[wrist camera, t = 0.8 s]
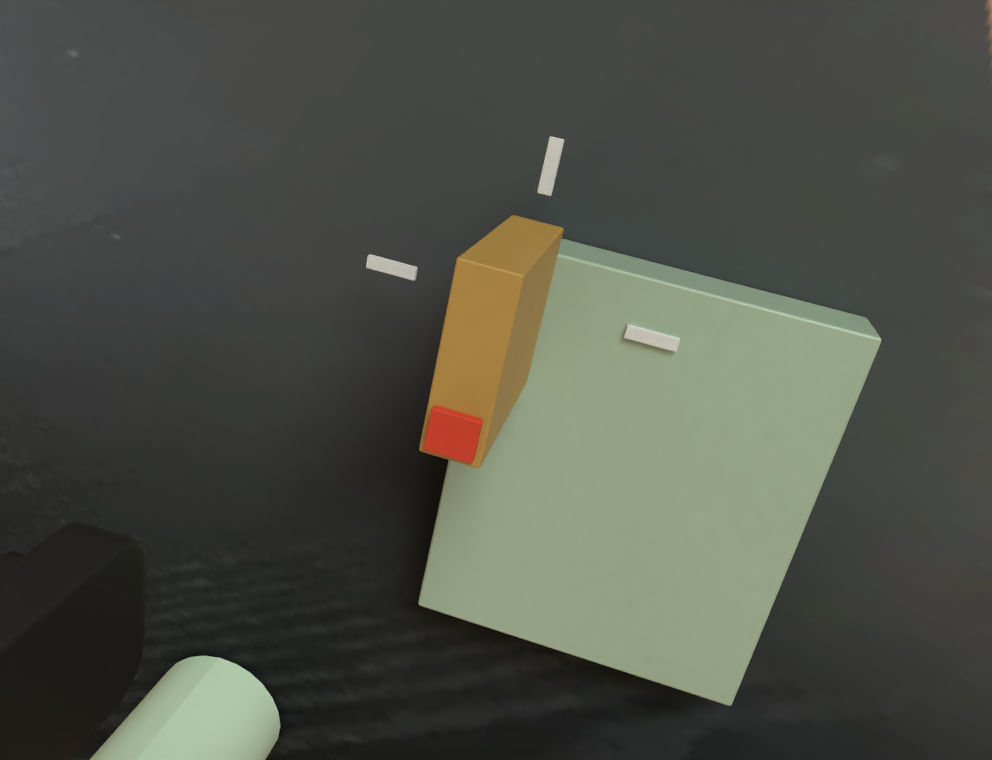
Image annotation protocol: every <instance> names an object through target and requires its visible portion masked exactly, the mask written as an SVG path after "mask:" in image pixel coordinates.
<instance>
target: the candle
mask: <svg viewBox="0 0 992 760" xmlns="http://www.w3.org/2000/svg"><path fill="white" fill-rule="evenodd" d="M279 730H280V720H279V712H278V710H277V707H276V705H275V703H274V700H273V698H272V697H271V695H270V694H269V692H268V691H267V690H266V688H265V687H264V685H263V684H262V683H261V682H260V681H259V680H258V679H257V678H256V677H255V676H253V675H252V674H251V673H250V672H249V671H247V670H245V669H244V668H242V667H240V666H239V665H237V664H235V663H232V662H230V661H227V660H224V659H222V658H217V657H210V656H196V657H189V658H186V659H184V660H182V661H179V662H177V663H176V664H175V665H174V666H173V667H172V668H171V669H170V670H169V671H168V672H167V673H166V674H165V675H164V676H163V677H162V678H161V680H160V681H159V682H158V683H157V684H156V685H155V686H154V687H153V689H152V690H151V691H150V692H149V693H148V694H147V695H146V696H145V698H144V699H143V700H142V701H141V702H140V703H139V704H138V706H137V707H136V708H135V709H134V710H133V711H132V712H131V713H130V715H129V716H128V717H127V718H126V719H125V720H124V721H123V723H122V724H121V725H120V726H119V727H118V728H117V729H116V730H115V732H114V733H113V734H112V735H111V736H110V737H109V738H108V739H107V741H106V742H105V743H104V744H103V745H102V746H101V747H100V749H99V750H98V751H97V752H96V753H95V754H94V755H93V756H92V758H91V759H90V760H265V759H266V757H267V756H268V754H269V753H270V751H271V749H272V748H273V746H274V744H275V743H276V741H277V739H278V736H279Z"/></svg>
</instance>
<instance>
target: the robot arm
mask: <svg viewBox="0 0 992 760" xmlns="http://www.w3.org/2000/svg"><path fill="white" fill-rule="evenodd" d="M146 578H147V550H146V547H145V545H144V544H143V543H142V542H141V541H139V540H136V539H133V538H130V537H126V536H123V535H120V534H117V533H114V532H111V531H108V530H104V529H101V528H98V527H95V526H92V525H89V524H86V523H82V522H72V523H70V524H68V525H66V526H64V527H63V528H61V529H60V530H58V531H57V532H56V533H54V534H53V535H52V536H50V537H49V538H47V539H46V540H45V541H43V542H42V543H41V544H39V545H38V546H37V547H35V548H34V549H33V550H31V551H30V552H29V553H27V554H26V555H22V554H19V553H16V552H13V551H12V552H9V553H6V554H4V555H1V556H0V760H69V759H70V758H71V757H72V756H73V755H74V754H75V753H76V752H77V750H78V749H79V748H80V747H81V746H82V745H83V744H84V743H85V742H86V740H87V739H88V738H89V737H90V736H91V735H92V734H93V733H94V731H95V730H96V729H97V728H98V727H99V726H100V725H101V724H102V723H103V721H104V720H105V719H106V718H107V717H108V716H109V715H110V714H111V712H112V711H113V710H114V709H115V708H116V707H117V705H118V704H119V703H120V702H121V700H122V699H123V697H124V696H125V694H126V693H127V691H128V689H129V687H130V686H131V684H132V682H133V679H134V677H135V675H136V673H137V670H138V667H139V664H140V661H141V656H142V651H143V637H144V618H145V598H146Z"/></svg>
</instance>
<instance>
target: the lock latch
mask: <svg viewBox="0 0 992 760" xmlns="http://www.w3.org/2000/svg"><path fill="white" fill-rule="evenodd" d="M563 231H564V229H563V228H561V227H558V226H554V225H550V224H546V223H542V222H538V221H534V220H530V219H527V218H523V217H519V216H515V215H512V216H511V217H509V218H508V219H507V220H505V221H504V222H503V223H502V224H500V225H499V226H498V227H496V228H495V229H494V230H493V231H491V232H490V233H489V234H487V235H486V236H485V237H484V238H482V239H481V240H480V241H478V242H477V243H476V244H475V245H473V246H472V247H471V248H469V249H468V250H467V251H466V252H464V253H463V254H462V255H460V256H459V257H458V258H457V259H456V264H455V269H454V275H453V280H452V285H451V290H450V295H449V300H448V305H447V310H446V315H445V320H444V325H443V330H442V335H441V340H440V345H439V350H438V356H437V361H436V366H435V371H434V376H433V381H432V386H431V391H430V396H429V401H428V406H427V411H426V416H425V421H424V426H423V431H422V436H421V442H420V447H419V451H421V452H424V453H428V454H431V455H435V456H438V457H441V458H445V459H448V460H451V461H455V462H458V463H461V464H465V465H468V466H471V467H475V468H480V467H481V465H482V463H483V461H484V459H485V458H486V456H487V454H488V452H489V450H490V448H491V447H492V445H493V443H494V441H495V439H496V437H497V436H498V434H499V432H500V430H501V428H502V426H503V425H504V423H505V421H506V419H507V417H508V415H509V414H510V412H511V410H512V408H513V406H514V404H515V403H516V401H517V399H518V397H519V395H520V393H521V392H522V390H523V388H524V386H525V384H526V382H527V379H528V374H529V370H530V366H531V362H532V358H533V354H534V350H535V346H536V342H537V338H538V333H539V329H540V325H541V321H542V317H543V313H544V309H545V305H546V301H547V297H548V293H549V288H550V284H551V280H552V276H553V272H554V268H555V264H556V260H557V256H558V252H559V248H560V243H561V239H562V235H563Z"/></svg>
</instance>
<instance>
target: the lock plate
mask: <svg viewBox="0 0 992 760" xmlns="http://www.w3.org/2000/svg"><path fill="white" fill-rule="evenodd" d="M563 144H564V139H560V138H556V137H550V138H549V142H548V147H547V151H546V155H545V160H544V164H543V168H542V173H541V177H540V182H539V186H538V190H537V193H540V194H544V195H548V196H551V195H552V191H553V187H554V183H555V178H556V174H557V170H558V166H559V161H560V157H561V153H562V149H563ZM366 268H369V269H373V270H376V271H380V272H384V273H387V274H391V275H395V276H398V277H402V278H406V279H409V280H413V281H414V280H416V276H417V270H418V267H416V266H412V265H408V264H404V263H401V262H397V261H393V260H390V259H386V258H382V257H379V256H375V255H371V254H369V255H368V258H367V264H366ZM880 343H881V338H880V336H879V335H878V333H877V332H876V331H875V329H874V328H873V326H872V325H871V323H870V322H869V320H868V319H867V318H865V317H862V316H858V315H854V314H850V313H846V312H843V311H839V310H835V309H831V308H827V307H823V306H819V305H816V304H812V303H808V302H804V301H800V300H796V299H793V298H789V297H785V296H781V295H777V294H773V293H769V292H766V291H762V290H758V289H754V288H750V287H746V286H742V285H739V284H735V283H731V282H727V281H723V280H719V279H715V278H712V277H708V276H704V275H700V274H696V273H692V272H689V271H685V270H681V269H677V268H673V267H669V266H665V265H662V264H658V263H654V262H650V261H646V260H642V259H638V258H635V257H631V256H627V255H623V254H619V253H615V252H612V251H608V250H604V249H600V248H596V247H592V246H588V245H585V244H581V243H577V242H573V241H569V240H565V239H561V243H560V248H559V252H558V256H557V260H556V264H555V268H554V272H553V276H552V280H551V284H550V288H549V293H548V297H547V301H546V305H545V309H544V313H543V317H542V321H541V325H540V329H539V333H538V338H537V342H536V346H535V350H534V354H533V358H532V362H531V366H530V370H529V374H528V379H527V382H526V384H525V386H524V388H523V390H522V392H521V393H520V395H519V397H518V399H517V401H516V403H515V404H514V406H513V408H512V410H511V412H510V414H509V415H508V417H507V419H506V421H505V423H504V425H503V426H502V428H501V430H500V432H499V434H498V436H497V437H496V439H495V441H494V443H493V445H492V447H491V448H490V450H489V452H488V454H487V456H486V458H485V459H484V461H483V463H482V465H481V467H480V468H475V467H471V466H468V465H465V464H461V463H458V462H455V461H451V460H449V461H448V465H447V470H446V475H445V479H444V484H443V489H442V493H441V498H440V503H439V507H438V512H437V517H436V521H435V526H434V531H433V535H432V540H431V545H430V549H429V554H428V559H427V563H426V568H425V573H424V577H423V582H422V587H421V591H420V596H419V601H418V604H419V605H420V606H423V607H426V608H429V609H432V610H435V611H438V612H441V613H444V614H447V615H450V616H453V617H457V618H460V619H463V620H466V621H469V622H472V623H475V624H478V625H481V626H484V627H487V628H491V629H494V630H497V631H500V632H503V633H506V634H509V635H512V636H515V637H518V638H521V639H524V640H528V641H531V642H534V643H537V644H540V645H543V646H546V647H549V648H552V649H555V650H558V651H562V652H565V653H568V654H571V655H574V656H577V657H580V658H583V659H586V660H589V661H592V662H595V663H599V664H602V665H605V666H608V667H611V668H614V669H617V670H620V671H623V672H626V673H629V674H633V675H636V676H639V677H642V678H645V679H648V680H651V681H654V682H657V683H660V684H663V685H666V686H670V687H673V688H676V689H679V690H682V691H685V692H688V693H691V694H694V695H697V696H700V697H704V698H707V699H710V700H713V701H716V702H719V703H722V704H725V705H728V706H730V705H731V704H732V703H733V700H734V698H735V695H736V693H737V691H738V688H739V686H740V683H741V681H742V678H743V676H744V674H745V671H746V669H747V666H748V664H749V661H750V659H751V657H752V654H753V652H754V649H755V647H756V644H757V642H758V640H759V637H760V635H761V632H762V630H763V627H764V625H765V623H766V620H767V618H768V615H769V613H770V610H771V608H772V606H773V603H774V601H775V598H776V596H777V593H778V591H779V589H780V586H781V584H782V581H783V579H784V576H785V574H786V572H787V569H788V567H789V564H790V562H791V559H792V557H793V555H794V552H795V550H796V547H797V545H798V542H799V540H800V538H801V535H802V533H803V530H804V528H805V525H806V523H807V521H808V518H809V516H810V513H811V511H812V508H813V506H814V504H815V501H816V499H817V496H818V494H819V491H820V489H821V487H822V484H823V482H824V479H825V477H826V474H827V472H828V470H829V467H830V465H831V462H832V460H833V457H834V455H835V453H836V450H837V448H838V445H839V443H840V440H841V438H842V436H843V433H844V431H845V428H846V426H847V423H848V421H849V419H850V416H851V414H852V411H853V409H854V406H855V404H856V402H857V399H858V397H859V394H860V392H861V389H862V387H863V385H864V382H865V380H866V377H867V375H868V372H869V370H870V368H871V365H872V363H873V360H874V358H875V355H876V353H877V351H878V348H879V346H880Z"/></svg>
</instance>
